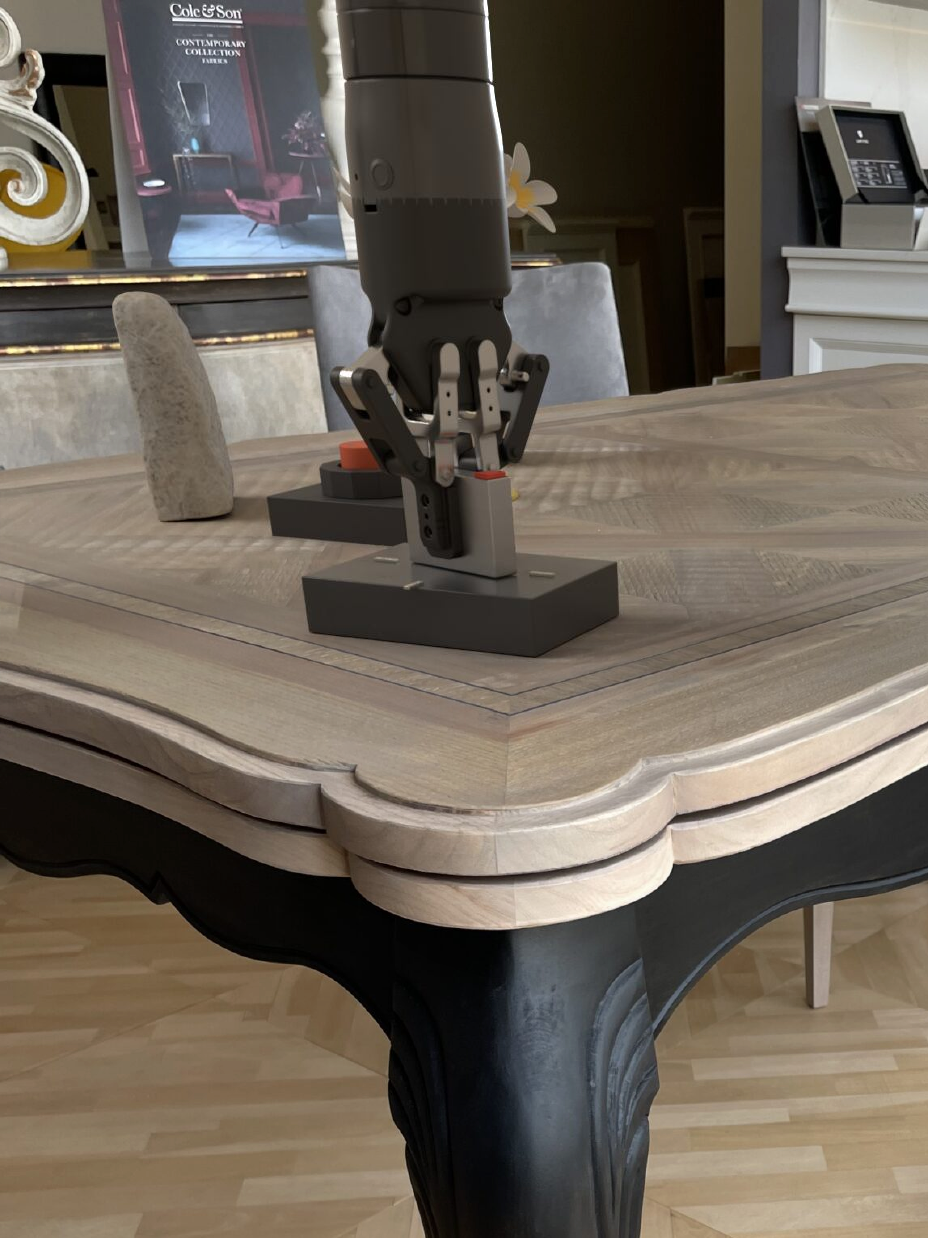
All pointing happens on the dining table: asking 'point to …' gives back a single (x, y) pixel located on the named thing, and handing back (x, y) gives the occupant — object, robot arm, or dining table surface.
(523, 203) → the flower vase
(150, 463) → the decorative stone
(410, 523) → the grey box
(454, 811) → the dining table surface
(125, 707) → the dining table surface
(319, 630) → the dark grey slotted base
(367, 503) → the button box
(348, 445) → the button
